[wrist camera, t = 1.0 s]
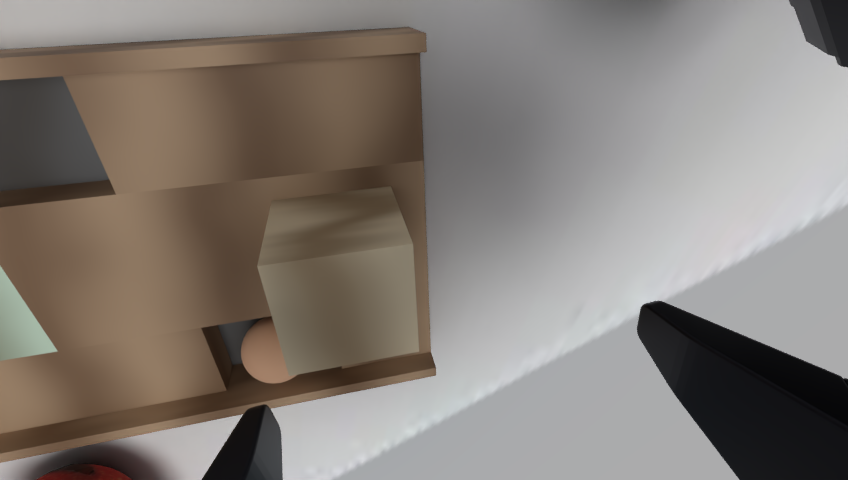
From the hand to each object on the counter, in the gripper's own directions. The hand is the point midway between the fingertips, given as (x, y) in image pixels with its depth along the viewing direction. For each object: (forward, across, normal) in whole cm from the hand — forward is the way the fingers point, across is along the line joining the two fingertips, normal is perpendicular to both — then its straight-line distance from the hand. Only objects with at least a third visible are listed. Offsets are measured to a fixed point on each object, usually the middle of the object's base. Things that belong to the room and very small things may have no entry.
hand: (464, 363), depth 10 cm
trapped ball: (+12, +8, +7) cm, 16 cm away
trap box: (+12, +10, +1) cm, 16 cm away
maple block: (+10, +3, +2) cm, 11 cm away
